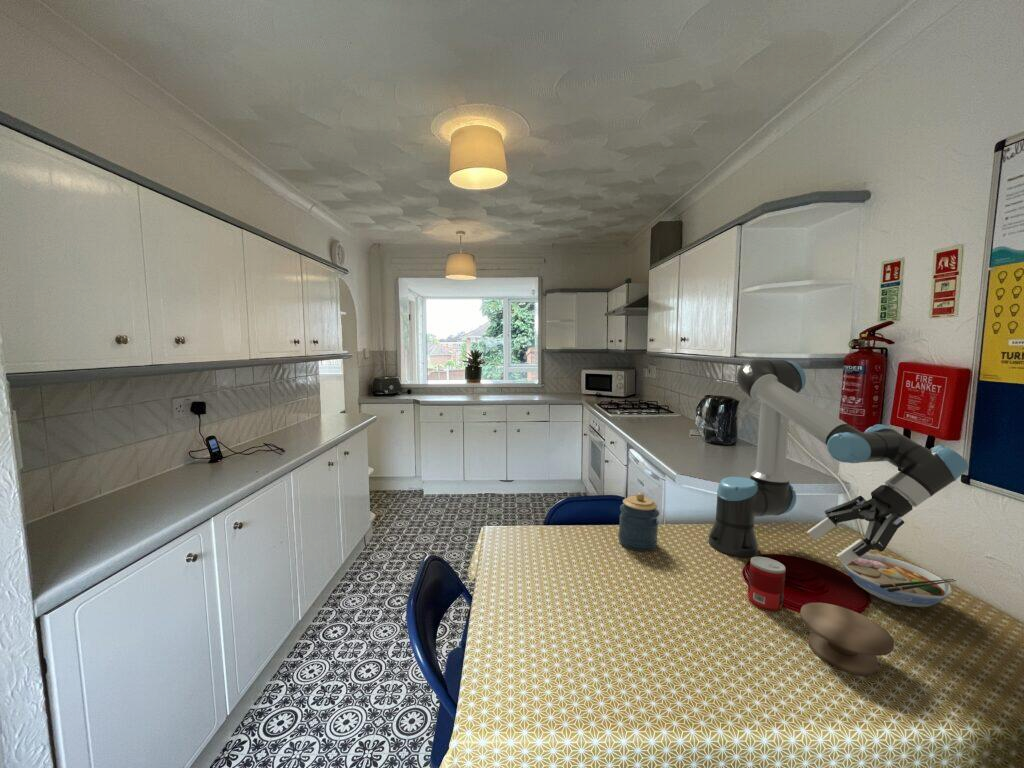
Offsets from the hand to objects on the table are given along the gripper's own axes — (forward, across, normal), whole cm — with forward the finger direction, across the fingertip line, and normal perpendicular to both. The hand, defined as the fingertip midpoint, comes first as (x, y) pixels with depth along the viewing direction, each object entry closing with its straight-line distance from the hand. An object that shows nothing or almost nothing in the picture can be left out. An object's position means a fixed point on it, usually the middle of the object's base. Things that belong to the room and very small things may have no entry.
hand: (825, 547), depth 106 cm
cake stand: (+15, -16, -10) cm, 24 cm away
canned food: (+21, +1, -3) cm, 22 cm away
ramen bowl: (-4, +12, -29) cm, 32 cm away
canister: (+42, +29, +18) cm, 54 cm away
